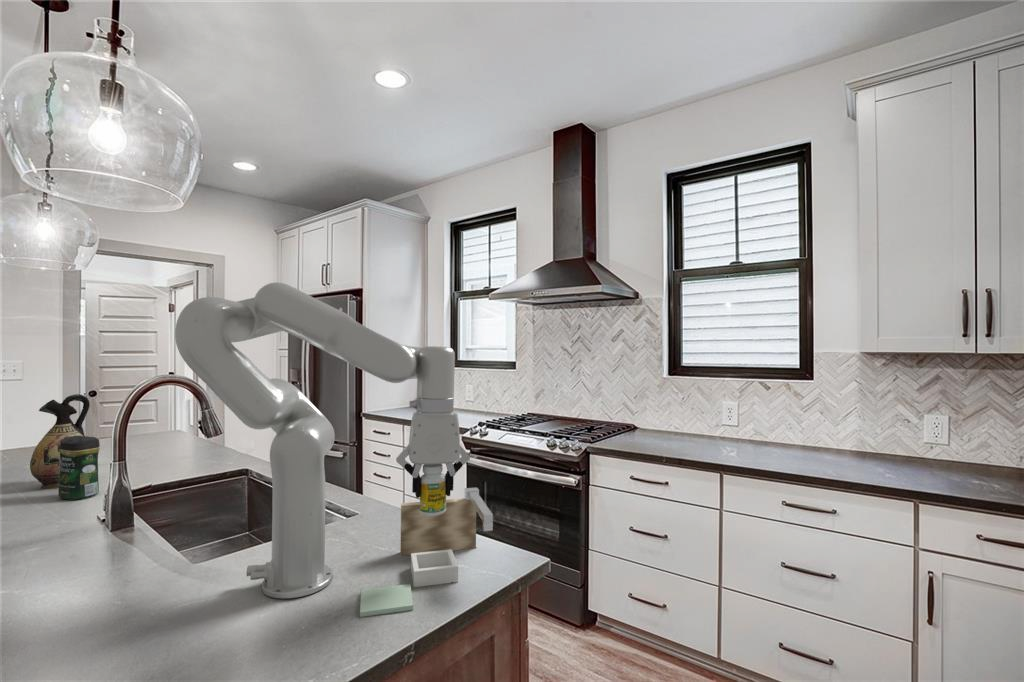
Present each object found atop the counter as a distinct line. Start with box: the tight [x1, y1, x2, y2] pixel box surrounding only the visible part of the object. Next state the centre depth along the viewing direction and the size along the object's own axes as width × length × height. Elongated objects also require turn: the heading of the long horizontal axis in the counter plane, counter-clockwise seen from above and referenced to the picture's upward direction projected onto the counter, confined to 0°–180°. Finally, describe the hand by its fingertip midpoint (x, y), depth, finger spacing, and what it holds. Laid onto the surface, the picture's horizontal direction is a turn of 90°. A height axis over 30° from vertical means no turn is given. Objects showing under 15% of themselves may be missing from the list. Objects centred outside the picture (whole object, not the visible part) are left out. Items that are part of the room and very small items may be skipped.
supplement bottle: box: [419, 464, 447, 516], centre depth 99 cm, size 5×5×10 cm
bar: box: [463, 487, 494, 532], centre depth 105 cm, size 3×19×3 cm, turn 16°
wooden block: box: [399, 497, 477, 557], centre depth 111 cm, size 17×2×11 cm, turn 106°
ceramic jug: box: [29, 393, 91, 490], centre depth 161 cm, size 17×15×30 cm
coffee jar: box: [58, 435, 101, 501], centre depth 148 cm, size 10×8×19 cm
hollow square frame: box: [410, 549, 459, 588], centre depth 99 cm, size 9×9×3 cm
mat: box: [359, 583, 414, 618], centre depth 88 cm, size 9×8×1 cm
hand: (432, 494), depth 99 cm, fingers closed on supplement bottle, 5 cm apart
